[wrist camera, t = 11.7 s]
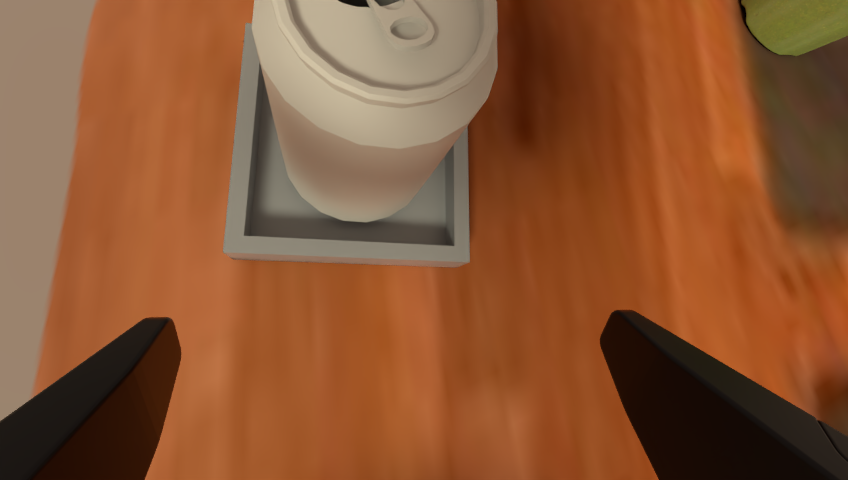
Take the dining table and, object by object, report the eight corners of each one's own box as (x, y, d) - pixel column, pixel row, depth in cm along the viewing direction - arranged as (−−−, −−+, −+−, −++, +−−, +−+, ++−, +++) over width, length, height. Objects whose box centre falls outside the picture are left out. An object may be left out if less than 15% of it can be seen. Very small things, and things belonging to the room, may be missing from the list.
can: (389, 78, 24) (452, -148, 12) (446, 195, 23) (566, 74, 12) (260, 119, 22) (189, -110, 10) (319, 249, 21) (316, 163, 10)
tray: (456, 267, 23) (469, 262, 21) (233, 259, 21) (223, 252, 18) (454, 79, 25) (466, 57, 23) (252, 50, 23) (245, 22, 21)
